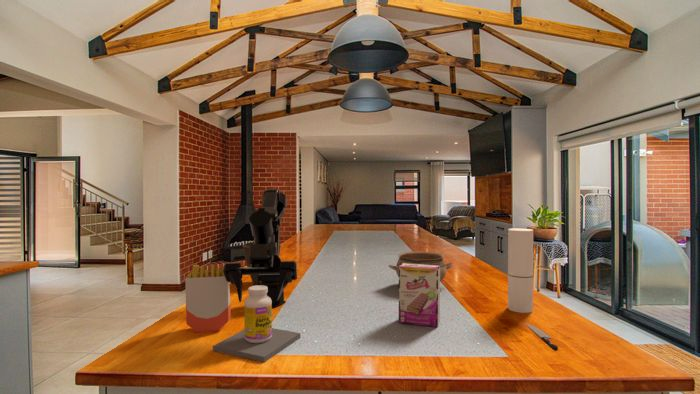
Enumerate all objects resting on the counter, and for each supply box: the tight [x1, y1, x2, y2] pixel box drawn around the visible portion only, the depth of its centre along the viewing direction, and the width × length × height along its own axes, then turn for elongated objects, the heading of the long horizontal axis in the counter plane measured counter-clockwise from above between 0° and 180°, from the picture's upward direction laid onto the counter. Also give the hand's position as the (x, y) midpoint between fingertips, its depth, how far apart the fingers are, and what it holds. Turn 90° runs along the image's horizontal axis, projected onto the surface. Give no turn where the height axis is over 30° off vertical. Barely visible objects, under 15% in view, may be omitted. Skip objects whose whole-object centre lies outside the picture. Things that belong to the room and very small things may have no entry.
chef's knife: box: [523, 322, 559, 350], centre depth 99 cm, size 19×1×3 cm
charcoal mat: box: [212, 327, 301, 363], centre depth 95 cm, size 15×15×1 cm
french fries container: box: [185, 264, 232, 333], centre depth 105 cm, size 5×11×18 cm, turn 99°
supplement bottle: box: [243, 285, 273, 343], centre depth 95 cm, size 7×7×13 cm
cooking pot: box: [388, 250, 453, 283], centre depth 147 cm, size 25×19×12 cm
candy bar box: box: [398, 263, 441, 328], centre depth 108 cm, size 11×5×16 cm, turn 71°
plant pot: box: [242, 241, 282, 286], centre depth 154 cm, size 15×15×16 cm
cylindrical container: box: [507, 227, 534, 314], centre depth 119 cm, size 7×7×25 cm
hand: (258, 300), depth 96 cm, fingers open, 9 cm apart
